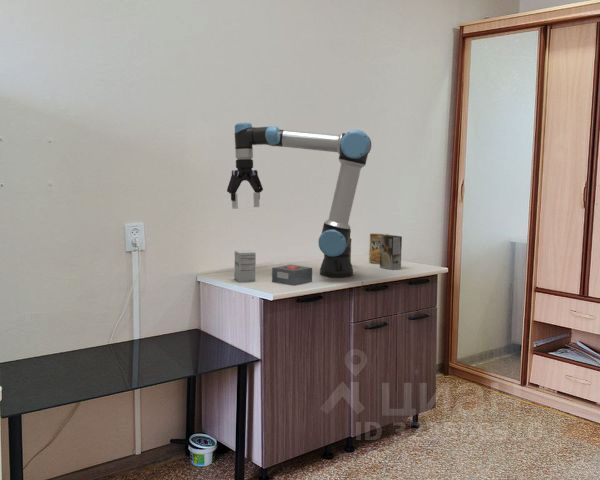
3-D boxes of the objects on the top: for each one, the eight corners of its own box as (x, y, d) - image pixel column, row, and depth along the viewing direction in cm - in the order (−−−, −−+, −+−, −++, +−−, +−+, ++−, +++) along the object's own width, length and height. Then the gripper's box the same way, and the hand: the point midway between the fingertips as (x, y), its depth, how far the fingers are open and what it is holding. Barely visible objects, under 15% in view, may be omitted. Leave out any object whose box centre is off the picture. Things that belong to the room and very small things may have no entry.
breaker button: (291, 276, 262) (291, 265, 261) (299, 278, 259) (299, 266, 258) (284, 278, 258) (284, 266, 258) (292, 279, 256) (293, 267, 255)
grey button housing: (290, 278, 267) (290, 264, 266) (312, 281, 260) (312, 267, 259) (271, 281, 258) (271, 267, 257) (293, 285, 250) (293, 271, 250)
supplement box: (234, 279, 262) (234, 250, 260) (250, 278, 264) (251, 249, 263) (238, 282, 255) (238, 252, 253) (255, 281, 257) (256, 252, 256)
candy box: (368, 263, 316) (369, 233, 314) (371, 262, 320) (372, 232, 318) (385, 264, 312) (385, 234, 310) (387, 263, 316) (388, 233, 314)
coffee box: (401, 269, 298) (402, 236, 296) (392, 270, 294) (393, 236, 293) (388, 266, 305) (389, 234, 304) (378, 267, 302) (379, 235, 300)
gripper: (257, 159, 279) (259, 206, 281) (217, 159, 260) (219, 209, 262) (269, 159, 274) (271, 206, 276) (229, 158, 255) (231, 209, 257)
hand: (246, 207), depth 269 cm, fingers open, 13 cm apart
